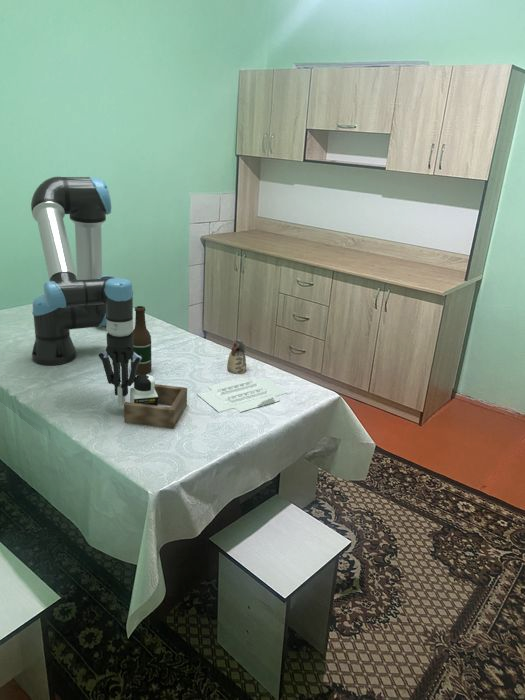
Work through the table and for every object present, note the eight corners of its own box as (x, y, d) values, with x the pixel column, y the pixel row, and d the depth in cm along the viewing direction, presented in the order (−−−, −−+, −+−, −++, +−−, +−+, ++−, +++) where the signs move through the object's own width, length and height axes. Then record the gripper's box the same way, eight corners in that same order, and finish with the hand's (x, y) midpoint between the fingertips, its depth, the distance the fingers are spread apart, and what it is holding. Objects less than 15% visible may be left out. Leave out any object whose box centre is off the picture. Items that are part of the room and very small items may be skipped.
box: (124, 422, 157) (123, 404, 155) (141, 399, 171) (141, 382, 169) (174, 428, 156) (174, 410, 154) (186, 404, 170) (187, 387, 168)
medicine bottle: (133, 419, 159) (134, 382, 154) (129, 408, 165) (130, 372, 160) (157, 416, 162) (159, 381, 157) (152, 406, 168) (153, 371, 163)
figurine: (250, 370, 197) (252, 340, 193) (236, 375, 192) (238, 345, 188) (236, 364, 202) (238, 334, 197) (223, 369, 197) (224, 339, 192)
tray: (191, 392, 179) (192, 382, 178) (258, 378, 196) (259, 369, 194) (224, 419, 164) (225, 408, 163) (293, 401, 181) (295, 391, 179)
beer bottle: (147, 376, 187) (146, 311, 177) (126, 373, 188) (124, 308, 179) (155, 368, 194) (155, 305, 185) (135, 365, 195) (134, 302, 186)
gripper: (93, 334, 152) (96, 407, 160) (136, 339, 151) (137, 412, 159) (103, 325, 159) (106, 396, 167) (145, 330, 158) (146, 401, 166)
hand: (121, 404), depth 163 cm, fingers closed
